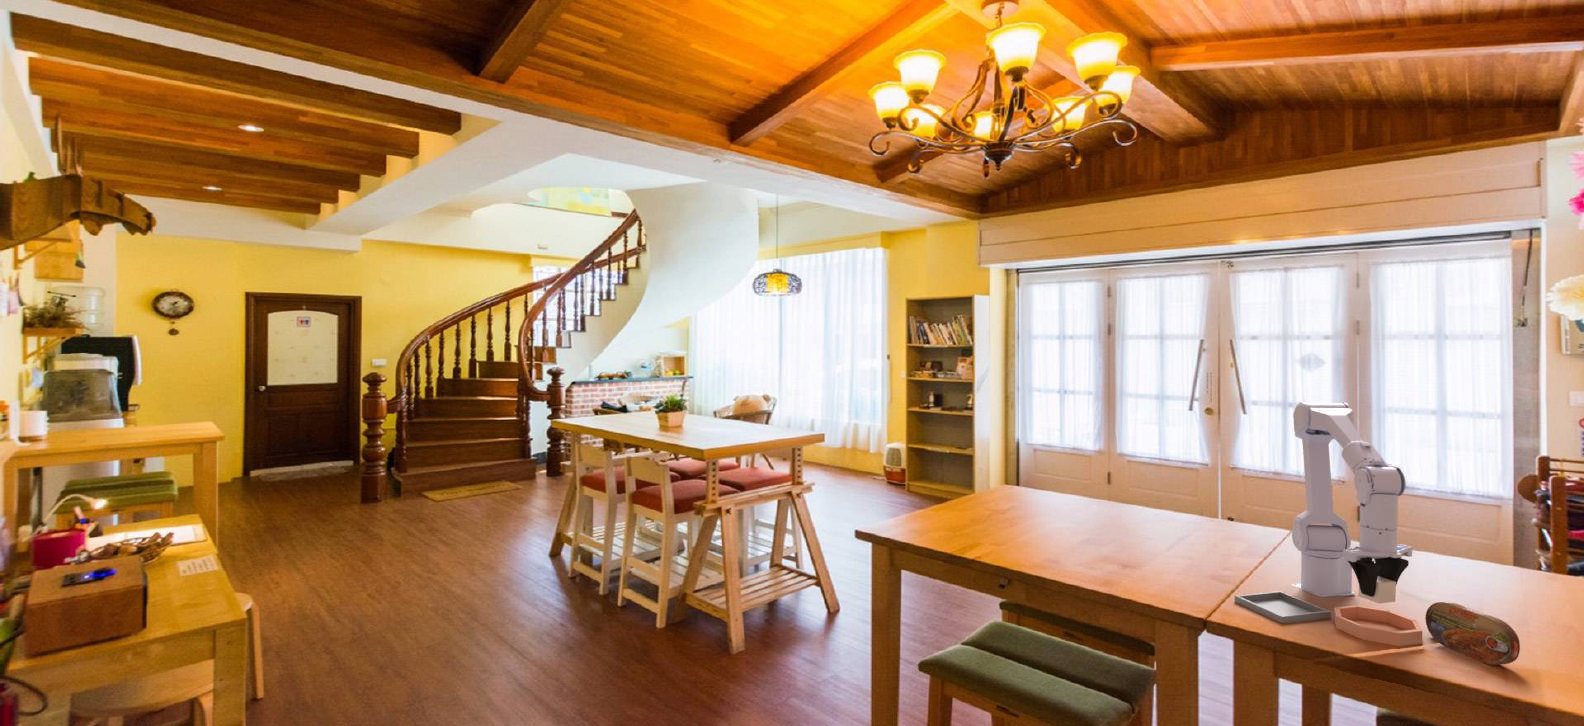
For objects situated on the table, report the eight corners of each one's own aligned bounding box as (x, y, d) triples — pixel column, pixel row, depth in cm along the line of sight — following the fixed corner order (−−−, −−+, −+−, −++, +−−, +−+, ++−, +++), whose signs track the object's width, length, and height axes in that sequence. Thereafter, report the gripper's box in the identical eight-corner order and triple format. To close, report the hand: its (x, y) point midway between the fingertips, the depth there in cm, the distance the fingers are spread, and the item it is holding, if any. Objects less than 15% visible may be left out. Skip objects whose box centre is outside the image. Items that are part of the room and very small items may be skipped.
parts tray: (1280, 599, 158) (1280, 590, 158) (1330, 620, 147) (1330, 611, 146) (1234, 604, 156) (1234, 595, 156) (1282, 626, 144) (1282, 616, 144)
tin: (1423, 637, 138) (1424, 595, 138) (1438, 636, 139) (1439, 594, 138) (1507, 674, 123) (1508, 627, 123) (1523, 673, 124) (1524, 626, 123)
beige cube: (1374, 594, 142) (1375, 574, 142) (1395, 601, 138) (1395, 581, 138) (1358, 596, 142) (1359, 576, 141) (1378, 603, 138) (1379, 583, 137)
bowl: (1370, 617, 148) (1370, 603, 148) (1437, 644, 135) (1438, 628, 135) (1318, 623, 145) (1319, 609, 145) (1382, 651, 133) (1383, 635, 132)
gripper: (1368, 534, 134) (1367, 604, 135) (1429, 529, 137) (1427, 597, 137) (1333, 524, 141) (1332, 591, 142) (1392, 520, 144) (1390, 585, 144)
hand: (1377, 593), depth 140 cm, fingers closed on beige cube, 4 cm apart
